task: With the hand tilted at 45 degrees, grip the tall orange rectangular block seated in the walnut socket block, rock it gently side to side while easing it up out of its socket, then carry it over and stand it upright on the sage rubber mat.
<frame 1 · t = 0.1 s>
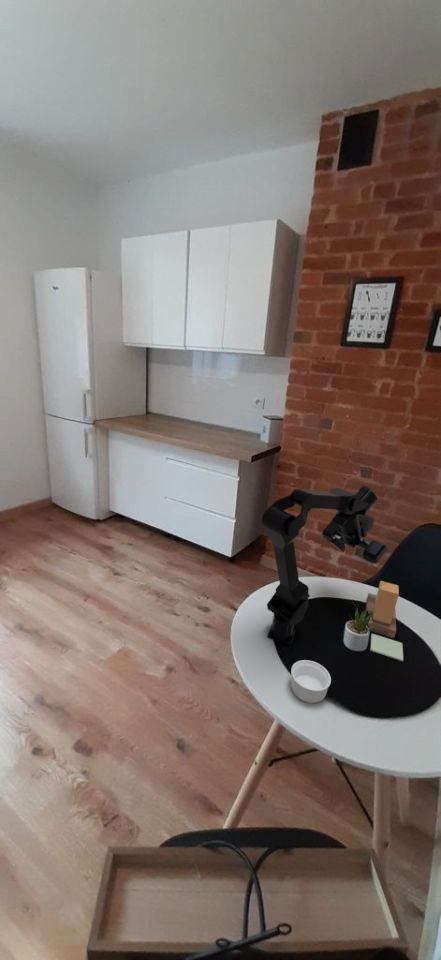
hand: (356, 557, 120), 15 cm above the table, tool tilted 35°, fingers open, 9 cm apart
ramekin: (307, 689, 89), on the table
header: (379, 625, 114), on the table
orange rectangular block: (384, 606, 112), in the header
mat: (386, 647, 105), on the table
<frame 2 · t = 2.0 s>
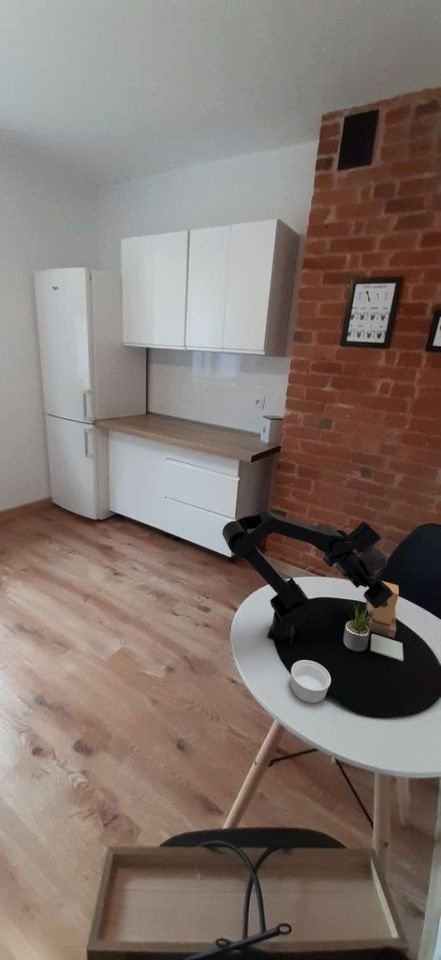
hand: (376, 595, 109), 10 cm above the table, tool tilted 45°, fingers open, 9 cm apart
nothing on the table moved.
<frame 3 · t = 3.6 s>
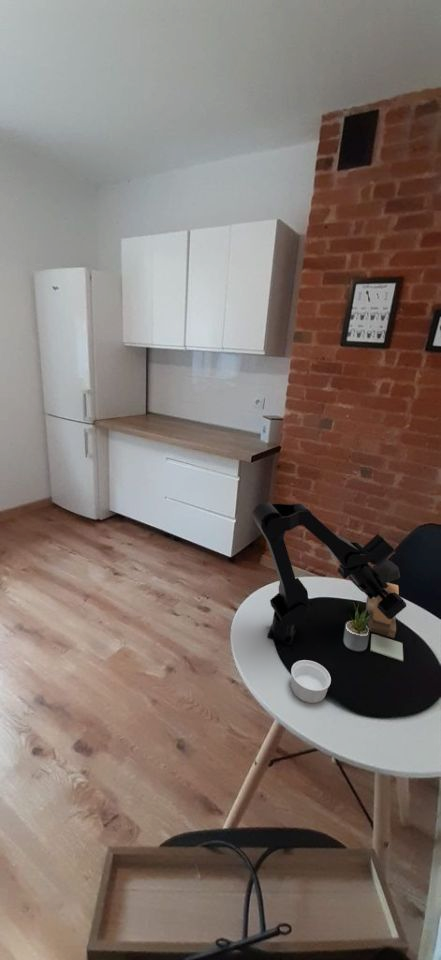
hand: (388, 606, 112), 7 cm above the table, tool tilted 45°, fingers closed on orange rectangular block, 7 cm apart
orange rectangular block: (384, 606, 112), in the header, touching gripper
everything else where it was.
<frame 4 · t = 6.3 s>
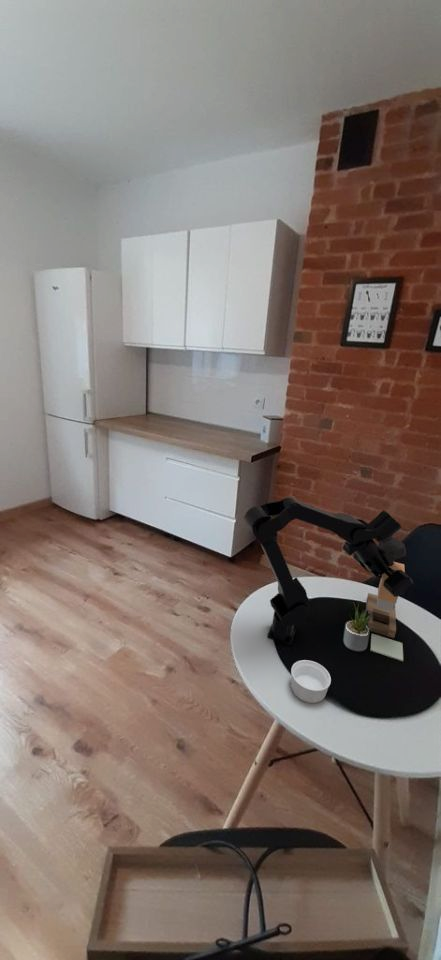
hand: (393, 585, 110), 13 cm above the table, tool tilted 45°, fingers closed on orange rectangular block, 7 cm apart
orange rectangular block: (389, 586, 109), point 13 cm above the table, touching gripper
everything else where it was.
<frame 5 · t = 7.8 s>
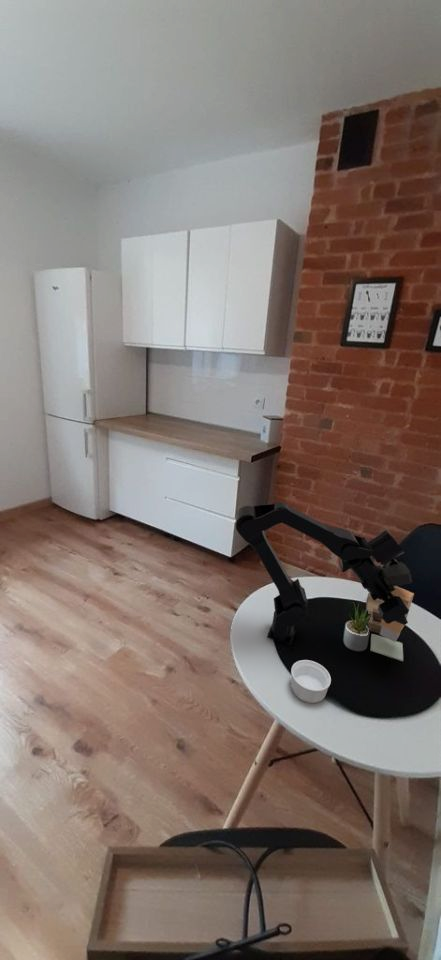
hand: (400, 614, 102), 11 cm above the table, tool tilted 45°, fingers closed on orange rectangular block, 7 cm apart
orange rectangular block: (395, 614, 102), point 11 cm above the table, touching gripper
everything else where it was.
when the fingers open (8 cm above the table, at t = 8.9 s): orange rectangular block stays where it is, resting on mat.
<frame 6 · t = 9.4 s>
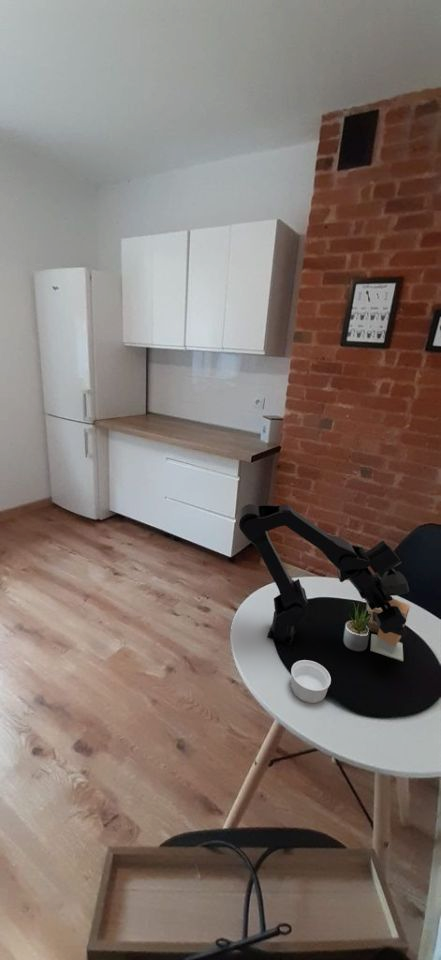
hand: (398, 623, 102), 8 cm above the table, tool tilted 45°, fingers open, 9 cm apart
orange rectangular block: (392, 626, 103), on the mat
everything else where it was.
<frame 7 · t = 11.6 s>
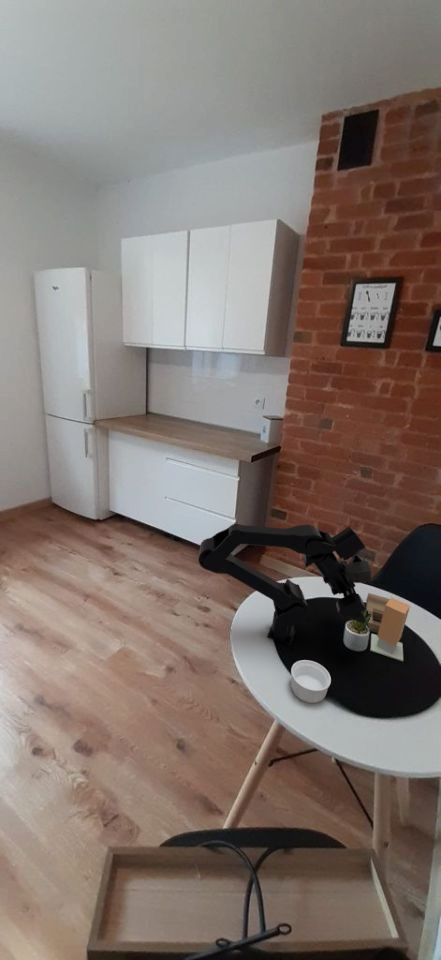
hand: (360, 610, 103), 10 cm above the table, tool tilted 40°, fingers open, 9 cm apart
nothing on the table moved.
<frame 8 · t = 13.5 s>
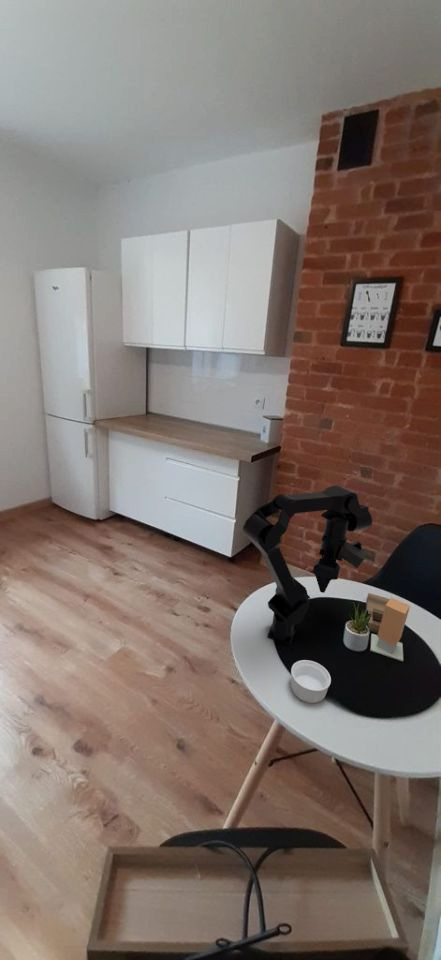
hand: (324, 583, 108), 13 cm above the table, tool pointing down, fingers open, 9 cm apart
nothing on the table moved.
at the end: orange rectangular block inside the target area (0.1 cm from its centre), resting on mat; orange rectangular block tilted 0°; the gripper is holding nothing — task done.
